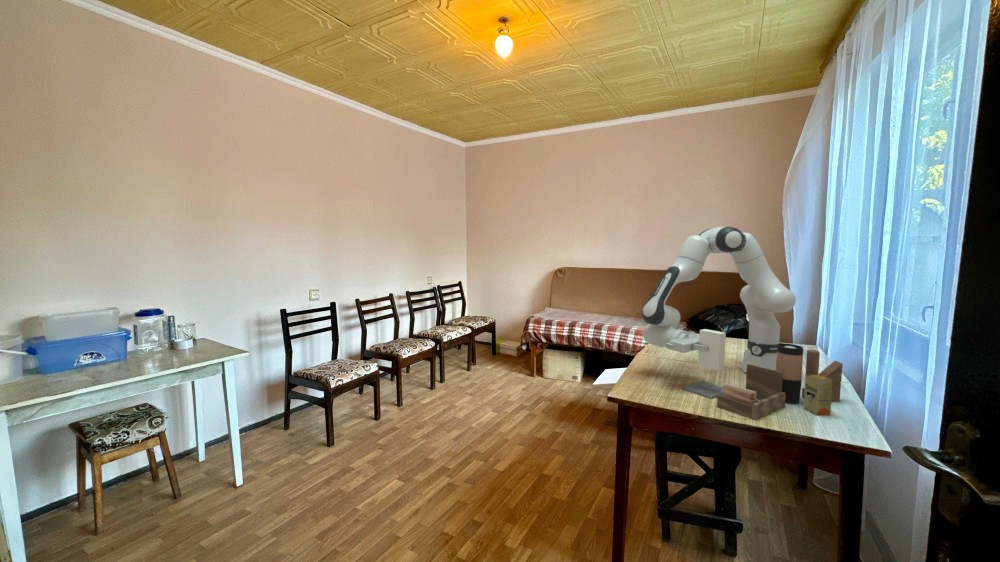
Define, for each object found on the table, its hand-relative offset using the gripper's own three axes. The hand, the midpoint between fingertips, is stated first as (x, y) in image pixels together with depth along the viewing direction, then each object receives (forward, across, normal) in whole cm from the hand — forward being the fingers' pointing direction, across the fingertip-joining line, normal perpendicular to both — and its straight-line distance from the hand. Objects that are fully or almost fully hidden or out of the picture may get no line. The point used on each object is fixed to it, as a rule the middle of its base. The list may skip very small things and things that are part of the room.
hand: (711, 348), depth 148 cm
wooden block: (+26, +26, +17) cm, 41 cm away
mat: (-1, 0, +17) cm, 17 cm away
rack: (+16, -2, +17) cm, 23 cm away
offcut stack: (+15, -8, +17) cm, 24 cm away
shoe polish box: (+30, +12, +17) cm, 36 cm away
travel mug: (+20, +15, +17) cm, 30 cm away
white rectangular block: (0, 0, +8) cm, 8 cm away
